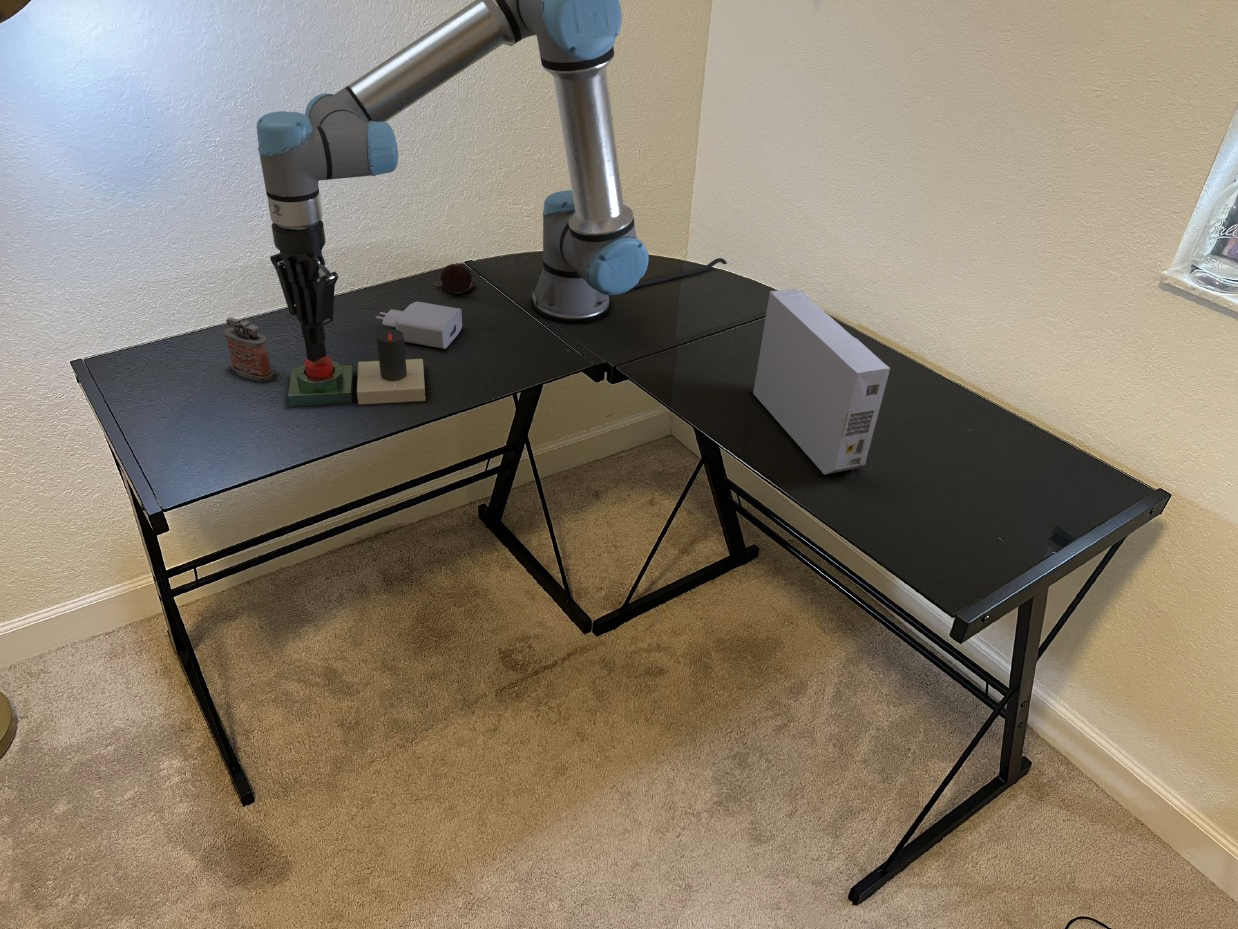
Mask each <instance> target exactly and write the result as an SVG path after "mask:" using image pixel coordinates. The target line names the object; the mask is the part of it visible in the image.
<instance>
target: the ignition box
mask: <svg viewBox="0 0 1238 929" xmlns="http://www.w3.org/2000/svg"><path fill="white" fill-rule="evenodd" d="M332 364H333V374H332V375H331V376H328V377H325V378H315V379H314V378H310V377H308V376H307V375H306V370H305V363H303V364H301V365H300V366H299V367H292V368H291V372H290V380H289V385H288V391H287V399H288V406H289V407H290V408H291V407H308V406H327V405H328V406H329V405H343V404H344V405H345V404H353V395H354V380H355V377H354V376H355V375H354V366H353V364H347V365H346V364H345V365H344V364H343V365H341V364H340V363H339V362H337V361H334V360H332Z"/></svg>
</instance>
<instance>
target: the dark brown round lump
mask: <svg viewBox="0 0 1238 929" xmlns="http://www.w3.org/2000/svg"><path fill="white" fill-rule="evenodd" d="M436 283H438V281H435V282H434V286H436V287H440V286H443V289H444V291H446V292H448V293H449V294H453V295H463V294H467V293H471V291H473V289H474V288H475V283H474V282H473V276H472V274H471V271H470V270H469V269H468V268H467V267H466V266H465V265H463V264H460V263H458V262H457V261H456V262H455V263H451V264H450V263H449V264H447V265H446V266H444V267H443V269H442V270H441V273H440V284H436Z"/></svg>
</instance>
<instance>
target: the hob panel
mask: <svg viewBox="0 0 1238 929" xmlns="http://www.w3.org/2000/svg"><path fill="white" fill-rule="evenodd" d="M406 368H407V375H406V377H405V378H403V379H401V380H397V381H388V380H385V379H383V378H382V377H381V375H380V365H379V360H370V361H369V360H368V361H367V360H366V361H358V362H357V381H356V382H357V383H356V395H357V396H356V397H357V405H374V404H375V405H376V404H391V403H410V402H412V403H413V402H426V386H425V385H426V384H425V383H426V382H425V368H424V358H413V359H412V358H411V359H406Z"/></svg>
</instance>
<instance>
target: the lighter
mask: <svg viewBox="0 0 1238 929" xmlns="http://www.w3.org/2000/svg"><path fill="white" fill-rule="evenodd" d="M225 322H226V326H227V327H229V328H226V329H225V330H224V331H223V333H224V337H225V338H226V341H227V346H228V351H229V355H230V356H229V357H230V360H231V370H232V372H233V373H235V374H237V375H239V376H241V377H243V378H246V379H248V380H249V379H251V380H252V381H253V380H254V381H257V382H258V381H259V382H268V381H270V380H272V379H273V378H274V372H273V370H272V368H271V363H270V357H269V352H268V347H267V343H268V340H267V337H266V336H265V335H263V334H262V333H259V328H258V326H257V325H255V324H252V323H251V321H249V320H247V319H245V320H244V321H242V320H240V319H237V318H235V317H231V316H230V317H227V318H226V319H225Z"/></svg>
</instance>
